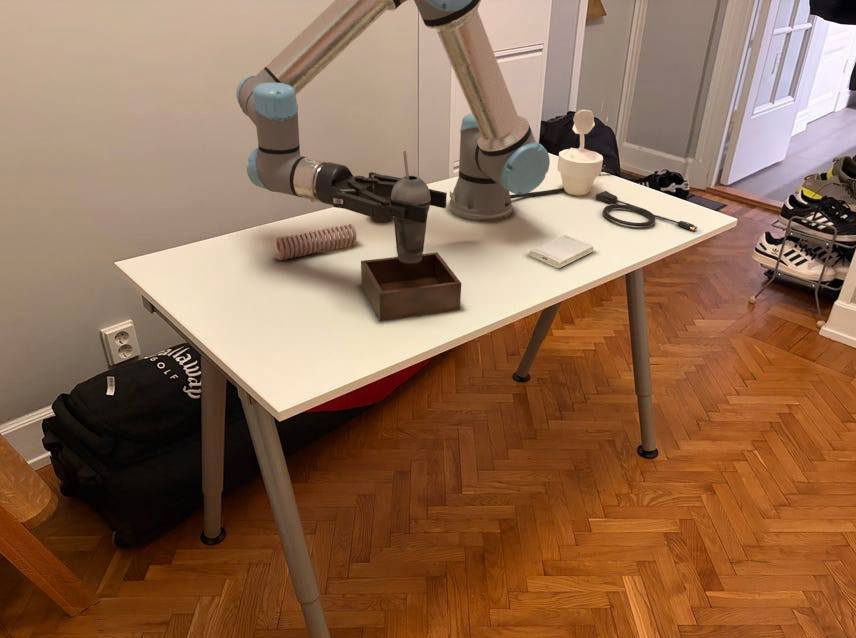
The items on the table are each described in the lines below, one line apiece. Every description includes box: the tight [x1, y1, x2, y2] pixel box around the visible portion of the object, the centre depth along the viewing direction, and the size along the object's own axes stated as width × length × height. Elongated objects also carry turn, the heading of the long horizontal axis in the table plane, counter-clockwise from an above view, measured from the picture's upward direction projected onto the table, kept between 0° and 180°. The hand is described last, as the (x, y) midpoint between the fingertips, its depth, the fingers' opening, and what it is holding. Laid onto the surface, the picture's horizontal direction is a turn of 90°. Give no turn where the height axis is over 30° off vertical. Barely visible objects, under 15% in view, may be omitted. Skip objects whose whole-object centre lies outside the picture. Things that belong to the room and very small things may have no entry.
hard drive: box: [529, 234, 594, 269], centre depth 158 cm, size 2×8×12 cm
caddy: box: [360, 251, 462, 322], centre depth 137 cm, size 16×14×6 cm
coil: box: [275, 223, 359, 261], centre depth 152 cm, size 5×5×18 cm
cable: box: [595, 190, 698, 231], centre depth 178 cm, size 14×28×2 cm, turn 44°
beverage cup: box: [390, 150, 431, 264], centre depth 128 cm, size 7×7×20 cm
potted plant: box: [556, 102, 609, 197], centre depth 185 cm, size 13×12×25 cm
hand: (435, 207), depth 126 cm, fingers closed on beverage cup, 7 cm apart
